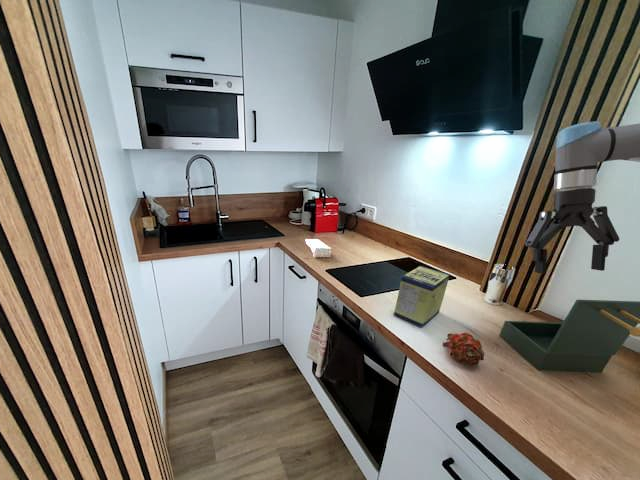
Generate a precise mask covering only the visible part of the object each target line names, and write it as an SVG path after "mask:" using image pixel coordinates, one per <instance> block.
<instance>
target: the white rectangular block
mask: <svg viewBox="0 0 640 480" xmlns="http://www.w3.org/2000/svg"><path fill="white" fill-rule="evenodd" d="M304 241H305V244H306V245H307V246H308V248H309V249H310V250H311V252H312V256H313V258H330V257H331V255H332V250H331V247H330V246H328V245H327V244H326V243H325V242H323V241H322V240H320V239H318V238H305V239H304Z"/></svg>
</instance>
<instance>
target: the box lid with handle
mask: <svg viewBox="0 0 640 480" xmlns="http://www.w3.org/2000/svg"><path fill="white" fill-rule="evenodd" d="M638 324H639V325H640V300H639V301H637V300H636V301H635V300H609V299H608V300H606V299H605V300H602V299H576V300H575V301H574V303H573V305H572V306H571V308H570V310H569V312H568V314H567V315H566V317H565V319H564V320H563V322H562V325H561V327H560V329H559V330H558V332H557V334H556V336H555V337H554V339H553V341H552V342H551V344H550V346H549V347H548V349H547V352H548V353H560V354H593V355H612V356H615V355H616V354H617V353H618V352H619V351H620V349H621V347H622V346H623V345H624V344H625V342H626V341H627V339H628V338H629V337H630V335H631V336H633V337H636V338H639V337H640V326H638Z"/></svg>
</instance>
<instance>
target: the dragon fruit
mask: <svg viewBox="0 0 640 480" xmlns="http://www.w3.org/2000/svg"><path fill="white" fill-rule="evenodd" d="M445 341H446V342H445ZM445 341H442V347H443V348H447V349H448V350H450V352H449V356H450V357H451V358H454V359H457V360H458V361H459V363H462V364H465V365H467V364H470V365H471V366H473V367H475V366H479V364H480V361H485V352H484V350H483V345H482V343H481V342H480V340H479V339H477V338H475V337H474V336H473V335H472V334H471V333H468V332H465V331H463V332H462V333H461V334H460V333H456V332H455V333H452V332H450V333H448V334H447V338H446V339H445Z"/></svg>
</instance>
